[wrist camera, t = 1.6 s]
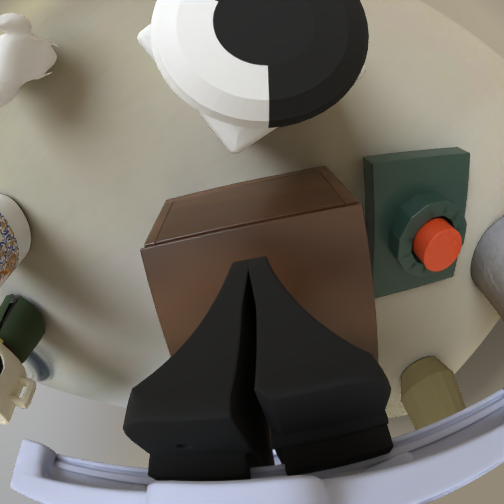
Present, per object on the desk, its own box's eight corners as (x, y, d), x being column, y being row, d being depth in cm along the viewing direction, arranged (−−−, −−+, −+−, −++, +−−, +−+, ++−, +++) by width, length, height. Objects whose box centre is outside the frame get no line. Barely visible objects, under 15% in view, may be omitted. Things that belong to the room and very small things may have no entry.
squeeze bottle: (429, 379, 37) (468, 476, 22) (385, 389, 37) (420, 498, 22) (451, 344, 33) (504, 452, 18) (405, 355, 32) (454, 480, 17)
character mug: (58, 300, 25) (5, 407, 14) (70, 345, 29) (34, 440, 18) (-14, 278, 23) (-71, 360, 12) (2, 322, 27) (-40, 401, 16)
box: (336, 307, 27) (354, 359, 22) (216, 330, 28) (213, 384, 23) (326, 166, 20) (357, 200, 15) (166, 199, 21) (143, 245, 15)
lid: (375, 420, 17) (378, 425, 16) (210, 448, 17) (209, 454, 17) (358, 203, 15) (362, 203, 14) (143, 247, 15) (139, 249, 15)
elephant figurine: (62, 104, 16) (11, 119, 11) (-9, 99, 14) (-58, 116, 9) (84, 15, 13) (36, 2, 8) (7, 21, 11) (-43, 21, 6)
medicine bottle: (261, -10, 13) (295, -109, 3) (326, 74, 16) (436, 78, 6) (168, 50, 15) (75, 19, 5) (234, 131, 18) (232, 203, 8)
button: (446, 253, 21) (457, 266, 19) (410, 263, 21) (420, 276, 19) (452, 214, 19) (465, 225, 17) (414, 221, 19) (426, 234, 17)
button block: (444, 266, 25) (462, 288, 22) (365, 287, 26) (378, 313, 23) (457, 147, 19) (484, 160, 16) (362, 156, 20) (383, 171, 17)
